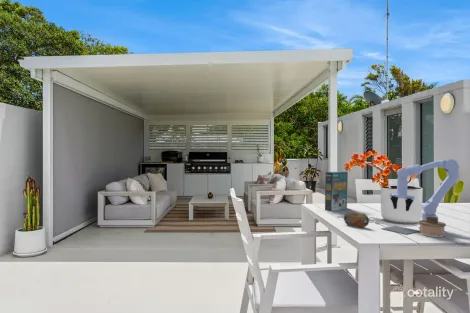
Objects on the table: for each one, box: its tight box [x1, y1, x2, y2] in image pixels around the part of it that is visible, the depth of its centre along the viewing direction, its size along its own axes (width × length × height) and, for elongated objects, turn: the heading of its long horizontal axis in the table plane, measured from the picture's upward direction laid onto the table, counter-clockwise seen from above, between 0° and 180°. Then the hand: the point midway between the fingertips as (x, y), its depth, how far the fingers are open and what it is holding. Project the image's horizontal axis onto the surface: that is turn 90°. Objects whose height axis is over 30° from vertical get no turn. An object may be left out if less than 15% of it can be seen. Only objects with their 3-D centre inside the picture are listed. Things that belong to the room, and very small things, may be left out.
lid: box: [418, 216, 447, 228], centre depth 181 cm, size 13×13×4 cm
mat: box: [381, 225, 421, 236], centre depth 191 cm, size 15×15×1 cm
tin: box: [343, 211, 370, 229], centre depth 200 cm, size 15×3×8 cm, turn 45°
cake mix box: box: [324, 170, 349, 212], centre depth 262 cm, size 22×6×30 cm, turn 130°
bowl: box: [419, 224, 445, 238], centre depth 181 cm, size 11×11×6 cm
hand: (401, 209), depth 201 cm, fingers open, 7 cm apart
